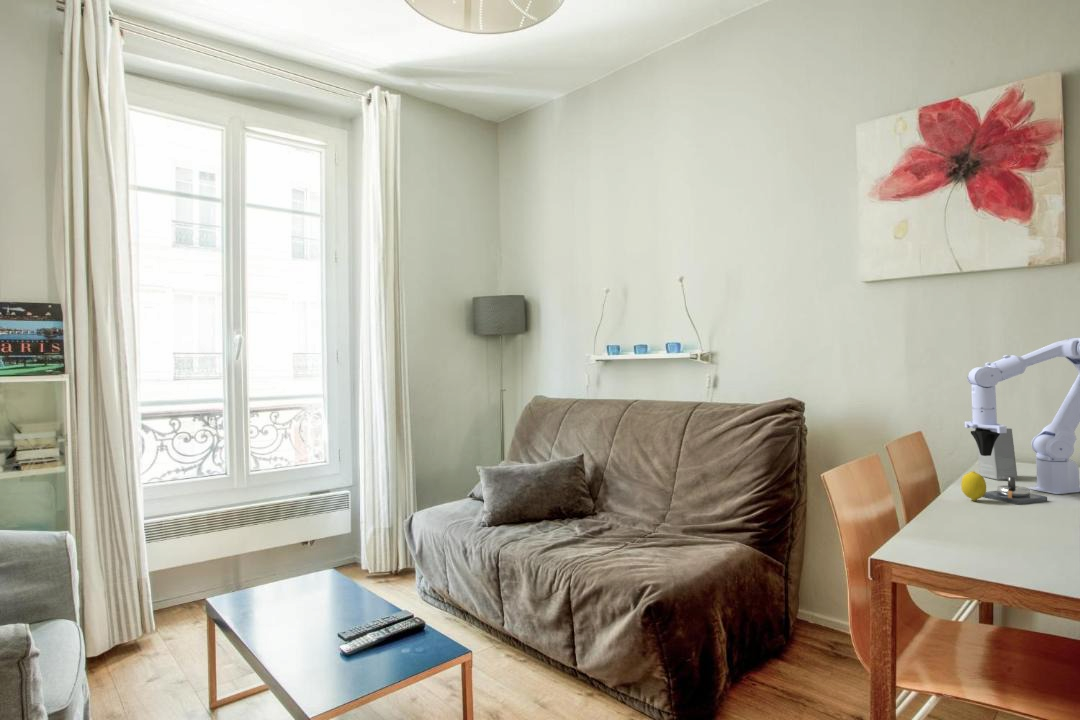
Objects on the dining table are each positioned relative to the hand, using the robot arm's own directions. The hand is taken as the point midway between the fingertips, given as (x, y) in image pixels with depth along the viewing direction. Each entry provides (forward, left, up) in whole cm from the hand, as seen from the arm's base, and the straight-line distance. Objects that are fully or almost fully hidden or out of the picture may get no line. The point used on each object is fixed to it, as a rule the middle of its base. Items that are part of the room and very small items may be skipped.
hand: (985, 455), depth 177 cm
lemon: (+15, +9, -10) cm, 20 cm away
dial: (+4, +11, -9) cm, 14 cm away
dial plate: (+4, +11, -10) cm, 15 cm away
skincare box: (-17, -12, -10) cm, 23 cm away
